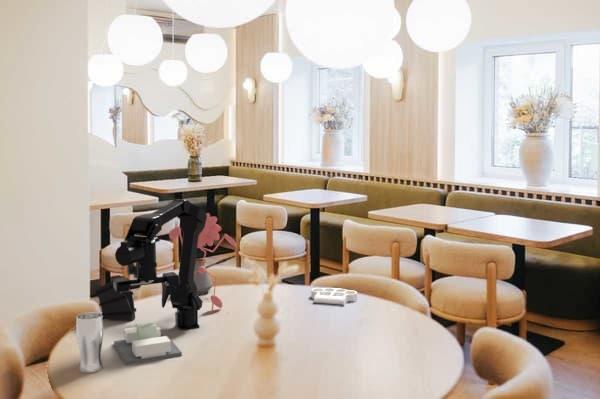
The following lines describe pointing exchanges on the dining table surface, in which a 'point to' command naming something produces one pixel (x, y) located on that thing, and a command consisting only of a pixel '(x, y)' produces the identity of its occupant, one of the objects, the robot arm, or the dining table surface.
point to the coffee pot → (205, 275)
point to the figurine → (208, 237)
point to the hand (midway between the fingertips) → (147, 309)
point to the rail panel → (134, 359)
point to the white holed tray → (333, 295)
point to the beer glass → (90, 341)
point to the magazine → (114, 303)
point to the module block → (146, 330)
